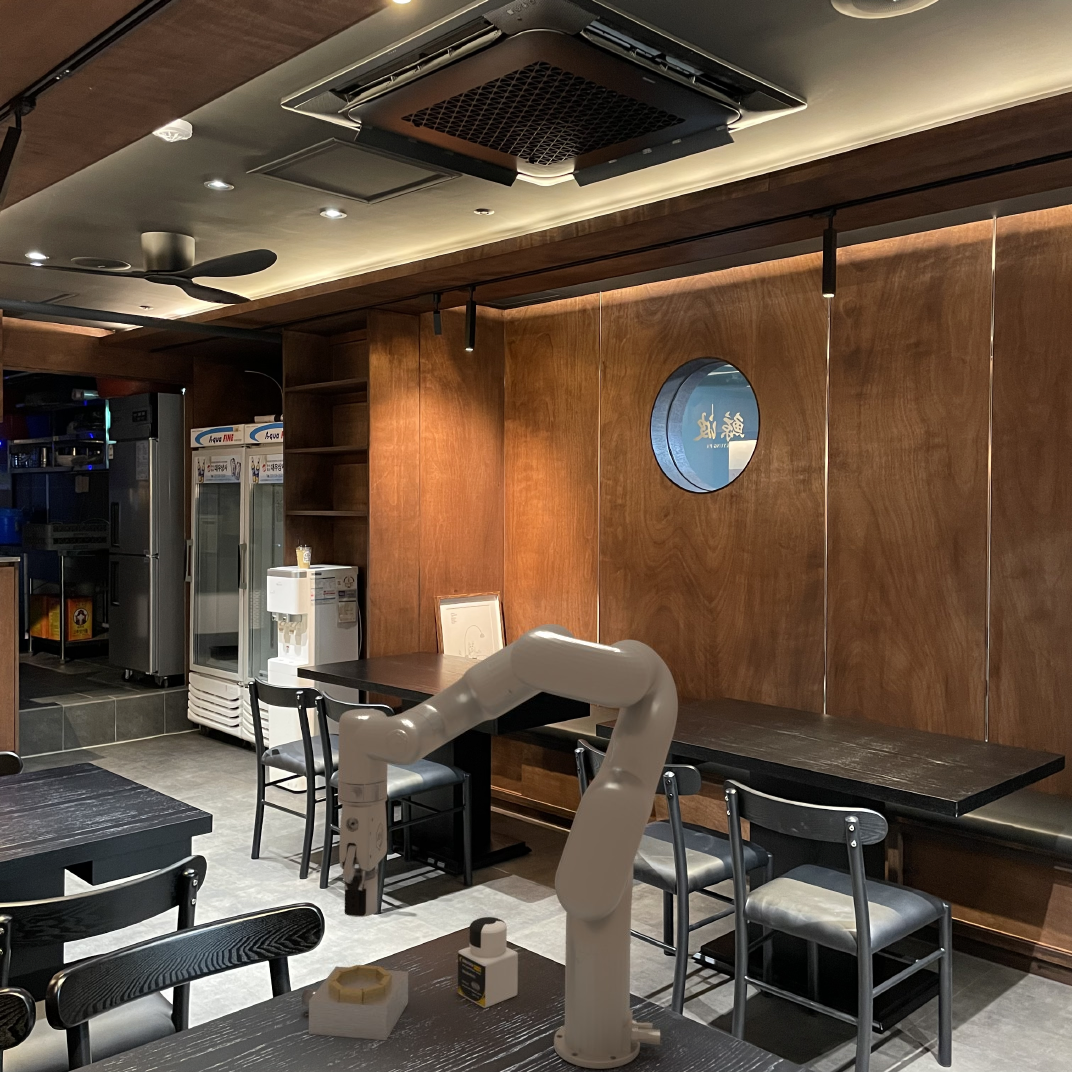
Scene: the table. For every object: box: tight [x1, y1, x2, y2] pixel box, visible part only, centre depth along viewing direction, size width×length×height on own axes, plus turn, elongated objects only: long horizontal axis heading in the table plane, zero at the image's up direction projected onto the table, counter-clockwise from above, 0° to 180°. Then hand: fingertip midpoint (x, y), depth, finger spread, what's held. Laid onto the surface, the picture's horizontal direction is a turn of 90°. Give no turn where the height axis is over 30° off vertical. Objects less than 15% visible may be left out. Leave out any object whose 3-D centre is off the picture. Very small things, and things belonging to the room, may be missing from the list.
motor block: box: [301, 964, 409, 1041], centre depth 156 cm, size 15×12×6 cm
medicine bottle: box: [457, 916, 519, 1009], centre depth 164 cm, size 7×7×12 cm
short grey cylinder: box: [347, 867, 379, 918], centre depth 156 cm, size 5×5×6 cm
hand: (361, 906), depth 156 cm, fingers closed on short grey cylinder, 5 cm apart
